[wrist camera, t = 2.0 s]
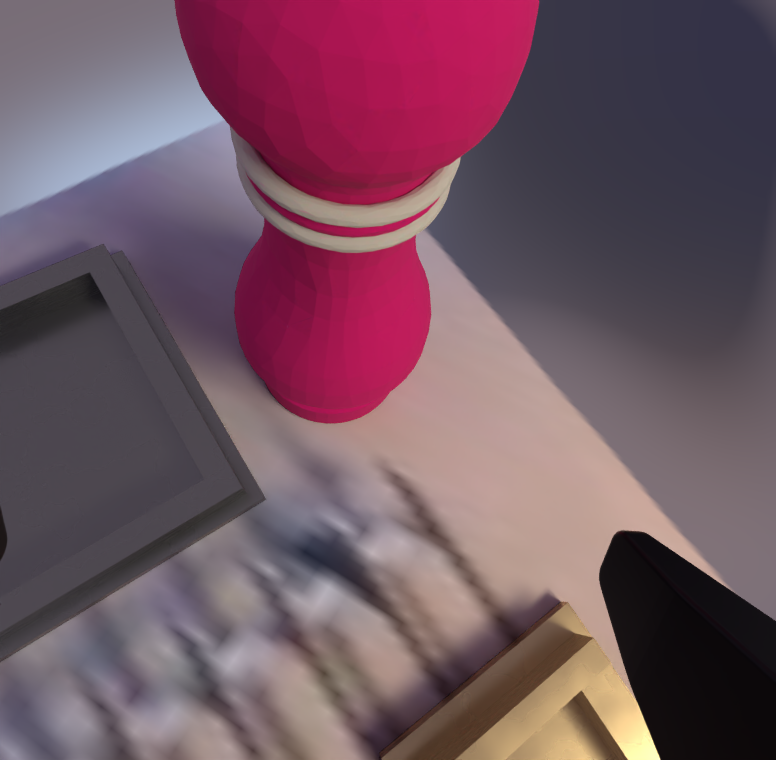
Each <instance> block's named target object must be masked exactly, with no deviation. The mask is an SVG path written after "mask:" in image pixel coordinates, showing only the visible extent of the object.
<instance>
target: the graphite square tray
mask: <svg viewBox="0 0 776 760" xmlns="http://www.w3.org/2000/svg"><path fill="white" fill-rule="evenodd" d="M264 500H266V498H265V497H264V495H263V493H262V491H261V490H260V488H259V486H258V484H257V483H256V481H255V479H254V478H253V476H252V474H251V472H250V471H249V469H248V467H247V465H246V464H245V462H244V460H243V459H242V457H241V455H240V453H239V452H238V450H237V448H236V446H235V445H234V443H233V441H232V440H231V438H230V436H229V434H228V433H227V431H226V429H225V427H224V426H223V424H222V422H221V421H220V419H219V417H218V415H217V414H216V412H215V410H214V408H213V407H212V405H211V403H210V401H209V400H208V398H207V396H206V395H205V393H204V391H203V389H202V388H201V386H200V384H199V382H198V381H197V379H196V377H195V376H194V374H193V372H192V370H191V369H190V367H189V365H188V363H187V362H186V360H185V358H184V357H183V355H182V353H181V351H180V350H179V348H178V346H177V344H176V343H175V341H174V339H173V337H172V336H171V334H170V332H169V331H168V329H167V327H166V325H165V324H164V322H163V320H162V318H161V317H160V315H159V313H158V312H157V310H156V308H155V306H154V305H153V303H152V301H151V299H150V298H149V296H148V294H147V293H146V291H145V289H144V287H143V286H142V284H141V282H140V280H139V279H138V277H137V275H136V273H135V272H134V270H133V268H132V267H131V265H130V263H129V261H128V260H127V258H126V256H125V255H124V253H123V251H120V252H117V253H115V254H113V255H110V253H109V252H108V250H107V249H106V247H105V246H104V244H102V245H99V246H97V247H95V248H92V249H90V250H87V251H85V252H82V253H80V254H77V255H75V256H73V257H70V258H68V259H65V260H63V261H60V262H58V263H55V264H53V265H51V266H48V267H46V268H43V269H41V270H38V271H36V272H34V273H31V274H29V275H26V276H24V277H21V278H19V279H16V280H14V281H12V282H9V283H7V284H4V285H2V286H0V506H1V510H2V515H3V519H4V523H5V527H6V531H7V538H8V539H7V547H6V550H5V553H4V555H3V557H2V559H1V561H0V662H1V661H3V660H4V659H6V658H8V657H9V656H11V655H13V654H14V653H16V652H18V651H19V650H21V649H22V648H24V647H26V646H27V645H29V644H31V643H32V642H34V641H36V640H37V639H39V638H40V637H42V636H44V635H45V634H47V633H49V632H50V631H52V630H53V629H55V628H57V627H58V626H60V625H62V624H63V623H65V622H67V621H68V620H70V619H71V618H73V617H75V616H76V615H78V614H80V613H81V612H83V611H85V610H86V609H88V608H89V607H91V606H93V605H94V604H96V603H98V602H99V601H101V600H103V599H104V598H106V597H107V596H109V595H111V594H112V593H114V592H116V591H117V590H119V589H120V588H122V587H124V586H125V585H127V584H129V583H130V582H132V581H134V580H135V579H137V578H138V577H140V576H142V575H143V574H145V573H147V572H148V571H150V570H152V569H153V568H155V567H156V566H158V565H160V564H161V563H163V562H165V561H166V560H168V559H170V558H171V557H173V556H174V555H176V554H178V553H179V552H181V551H183V550H184V549H186V548H187V547H189V546H191V545H192V544H194V543H196V542H197V541H199V540H201V539H202V538H204V537H205V536H207V535H209V534H210V533H212V532H214V531H215V530H217V529H219V528H220V527H222V526H223V525H225V524H227V523H228V522H230V521H232V520H233V519H235V518H237V517H238V516H240V515H241V514H243V513H245V512H246V511H248V510H250V509H251V508H253V507H255V506H256V505H258V504H259V503H261V502H263V501H264Z"/></svg>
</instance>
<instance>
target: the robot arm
mask: <svg viewBox="0 0 776 760" xmlns="http://www.w3.org/2000/svg"><path fill="white" fill-rule="evenodd" d="M7 539H8V538H7V531H6V527H5V523H4V519H3V515H2V510H1V506H0V561H1V559H2V557H3V555H4V553H5V550H6V547H7ZM599 581H600V586H601V590H602V593H603V597H604V600H605V603H606V607H607V610H608V613H609V617H610V620H611V623H612V627H613V630H614V634H615V637H616V640H617V644H618V647H619V650H620V654H621V657H622V660H623V664H624V667H625V670H626V673H627V676H628V679H629V682H630V685H631V688H632V690H633V693H634V695H635V698H636V701H637V703H638V706H639V708H640V711H641V713H642V716H643V718H644V721H645V723H646V725H647V728H648V730H649V733H650V735H651V738H652V740H653V743H654V745H655V748H656V750H657V753H658V755H659V758H660V760H776V621H775V620H773V619H772V618H770V617H769V616H768V615H766V614H764V613H763V612H762V611H760V610H759V609H757V608H756V607H754V606H753V605H751V604H750V603H748V602H747V601H745V600H744V599H743V598H741V597H740V596H738V595H737V594H735V593H734V592H732V591H731V590H729V589H728V588H726V587H725V586H723V585H722V584H720V583H719V582H718V581H716V580H715V579H713V578H712V577H710V576H709V575H707V574H706V573H704V572H703V571H701V570H700V569H698V568H697V567H696V566H694V565H693V564H691V563H690V562H688V561H687V560H685V559H684V558H682V557H681V556H679V555H678V554H676V553H675V552H673V551H672V550H671V549H669V548H668V547H666V546H665V545H663V544H662V543H660V542H659V541H657V540H656V539H654V538H653V537H651V536H650V535H648V534H647V533H644V532H640V531H624V530H622V531H618V532H617V533H616V534H615V535H614V536H613V538H612V540H611V543H610V545H609V548H608V550H607V553H606V555H605V558H604V560H603V563H602V565H601V568H600V572H599Z"/></svg>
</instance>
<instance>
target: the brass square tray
mask: <svg viewBox="0 0 776 760" xmlns="http://www.w3.org/2000/svg"><path fill="white" fill-rule="evenodd" d="M379 754H380V757H381V759H382V760H660V758H659V755H658V753H657V750H656V748H655V745H654V743H653V740H652V738H651V735H650V733H649V730H648V728H647V725H646V723H645V721H644V718H643V716H642V713H641V711H640V708H639V706H638V703H637V702H636V700H635V699H634V697H633V696H632V694H631V693H630V691H629V690H628V689H627V687H626V686H625V684H624V683H623V681H622V680H621V678H620V677H619V676H618V674H617V673H616V671H615V670H614V668H613V667H612V665H611V662H610V660H609V659H608V658H607V656H606V655H605V653H604V652H603V650H602V649H601V647H600V646H599V645H598V643H597V642H596V640H595V639H594V638H593V637H592V636H591V635H590V634H589V632H588V631H587V629H586V628H585V626H584V625H583V623H582V622H581V621H580V619H579V618H578V616H577V615H576V613H575V612H574V610H573V609H572V608H571V606H570V605H569V603H568V602H560V603H559V604H558V605H557V606H556V607H554V608H553V609H552V610H551V611H550V612H548V613H547V614H546V615H545V616H544V617H542V618H541V619H540V620H539V621H538V622H536V623H535V624H534V625H533V626H531V627H530V628H529V629H528V630H527V631H525V632H524V633H523V634H522V635H521V636H519V637H518V638H517V639H516V640H515V641H513V642H512V643H511V644H510V645H509V646H507V647H506V648H505V649H504V650H503V651H501V652H500V653H499V654H498V655H497V656H495V657H494V658H493V659H492V660H491V661H489V662H488V663H487V664H486V665H485V666H483V667H482V668H481V669H480V670H479V671H477V672H476V673H475V674H474V675H472V676H471V677H470V678H469V679H468V680H466V681H465V682H464V683H463V684H462V685H460V686H459V687H458V688H457V689H456V690H454V691H453V692H452V693H451V694H450V695H448V696H447V697H446V698H445V699H444V700H442V701H441V702H440V703H439V704H438V705H436V706H435V707H434V708H433V709H432V710H430V711H429V712H428V713H427V714H426V715H424V716H423V717H422V718H421V719H420V720H418V721H417V722H416V723H415V724H413V725H412V726H411V727H410V728H409V729H407V730H406V731H405V732H404V733H403V734H401V735H400V736H399V737H398V738H397V739H395V740H394V741H393V742H392V743H391V744H389V745H388V746H387V747H386V748H385V749H383V750H382V751H381V752H380V753H379Z"/></svg>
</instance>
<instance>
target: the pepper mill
mask: <svg viewBox="0 0 776 760" xmlns="http://www.w3.org/2000/svg"><path fill="white" fill-rule="evenodd" d="M538 7H539V0H175V8H176V16H177V20H178V25H179V29H180V34H181V38H182V40H183V43H184V46H185V49H186V52H187V55H188V58H189V60H190V63H191V65H192V68H193V70H194V73H195V75H196V77H197V80H198V82H199V85H200V87H201V89H202V91H203V92H204V94H205V95H206V97H207V98H208V100H209V101H210V103H211V104H212V105H213V106H214V108H215V109H216V110H217V111H218V112H219V113H220V115H221V116H222V117H223V118H224V119H225V120H226V122H227V123H228V124H229V125H230V130H231V137H232V142H233V145H234V149H235V152H236V160H237V169H238V173H239V177H240V180H241V182H242V185H243V187H244V190H245V192H246V194H247V195H248V197H249V199H250V200H251V202H252V204H253V205H254V206H255V208H256V209H257V211H258V212H259V213H260V214H261V215H262V216H263V217H264V228H263V232H262V236H261V237H260V239H259V240H258V242H257V243H256V244H255V246H254V247H253V248H252V250H251V251H250V253H249V255H248V257H247V258H246V260H245V262H244V264H243V267H242V270H241V273H240V276H239V280H238V284H237V288H236V291H235V311H234V314H235V321H236V328H237V333H238V337H239V342H240V345H241V347H242V350H243V352H244V355H245V357H246V358H247V360H248V362H249V363H250V365H251V366H252V368H253V369H254V371H255V372H256V373H257V374H258V375H259V376H260V377H261V378H262V379H263V380H264V381H265V383H266V385H267V387H268V389H269V390H270V392H271V393H272V395H273V396H274V397H275V399H276V400H277V401H278V402H279V403H280V404H281V405H282V406H284V407H285V408H286V409H287V410H289V411H290V412H292V413H294V414H296V415H297V416H299V417H302V418H304V419H307V420H310V421H314V422H320V423H342V422H347V421H351V420H354V419H357V418H360V417H362V416H364V415H365V414H367V413H369V412H371V411H372V410H373V409H374V408H376V407H377V406H378V405H379V404H380V403H381V402H382V401H383V400H384V399H385V398H386V397H387V395H388V394H389V393H390V391H392V390H393V389H394V388H396V387H397V386H398V385H399V384H400V383H401V382H403V381H404V380H405V379H406V377H407V376H408V375H409V374H410V372H411V371H412V370H413V369H414V367H415V365H416V363H417V362H418V360H419V358H420V356H421V354H422V351H423V348H424V345H425V342H426V338H427V335H428V332H429V326H430V319H431V304H430V291H429V284H428V280H427V277H426V274H425V271H424V269H423V266H422V264H421V262H420V260H419V257H418V254H417V251H416V242H415V238H416V234H418V233H419V232H421V231H422V230H424V229H425V228H426V227H427V226H428V225H429V224H430V223H431V222H432V221H433V220H434V218H435V217H436V216H437V215H438V213H439V212H440V210H441V209H442V207H443V205H444V203H445V201H446V199H447V196H448V193H449V189H450V184H451V182H452V180H453V178H454V176H455V173H456V171H457V169H458V166H459V163H460V158H461V156H462V155H463V154H465V153H466V152H467V151H469V150H470V149H471V148H473V147H474V146H475V145H477V144H478V143H479V142H480V141H481V140H482V139H483V138H484V136H486V135H487V134H488V133H489V131H490V130H491V129H492V128H493V127H494V126H495V125H496V123H497V122H498V120H499V118H500V116H501V114H502V113H503V111H504V109H505V108H506V106H507V103H508V102H509V100H510V99H511V97H512V94H513V92H514V90H515V87H516V85H517V82H518V80H519V78H520V75H521V73H522V70H523V68H524V65H525V63H526V60H527V57H528V54H529V51H530V48H531V43H532V38H533V33H534V27H535V22H536V17H537V12H538Z"/></svg>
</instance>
